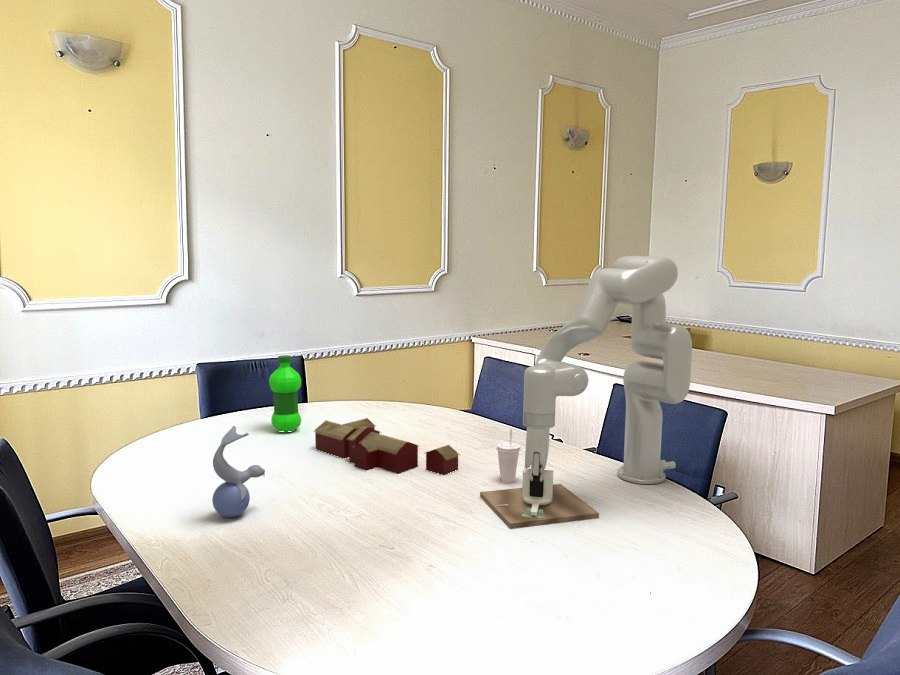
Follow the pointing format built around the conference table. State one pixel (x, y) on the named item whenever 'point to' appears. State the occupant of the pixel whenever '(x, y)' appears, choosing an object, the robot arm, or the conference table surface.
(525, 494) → the peg knob
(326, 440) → the toy houses
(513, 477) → the smoothie
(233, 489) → the seal
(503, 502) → the dial board
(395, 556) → the conference table surface
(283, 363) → the plastic bottle
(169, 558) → the conference table surface
